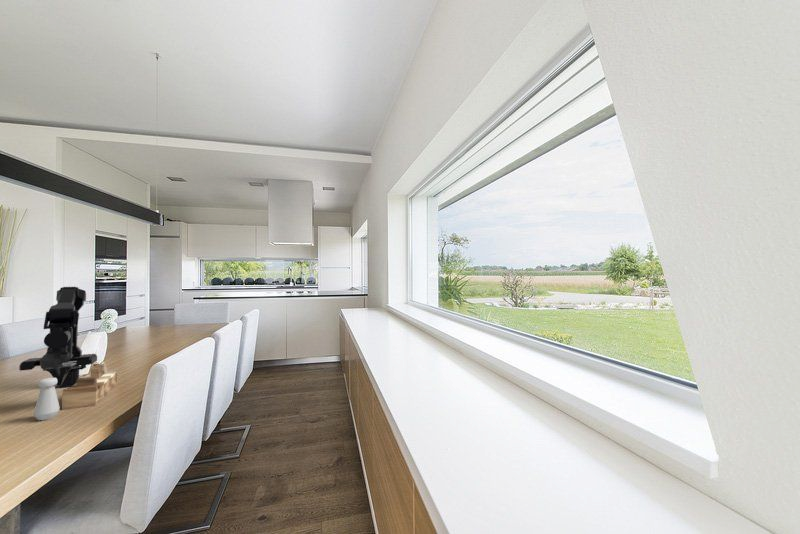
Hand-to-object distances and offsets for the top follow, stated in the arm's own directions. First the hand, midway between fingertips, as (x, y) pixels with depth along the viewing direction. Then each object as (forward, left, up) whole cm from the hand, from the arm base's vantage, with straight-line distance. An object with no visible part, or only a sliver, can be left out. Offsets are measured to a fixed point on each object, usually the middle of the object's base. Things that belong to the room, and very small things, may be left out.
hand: (59, 385), depth 116 cm
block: (0, +7, -1) cm, 7 cm away
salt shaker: (+12, +1, -7) cm, 14 cm away
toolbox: (-5, +7, -7) cm, 11 cm away
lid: (-8, +7, -3) cm, 11 cm away
